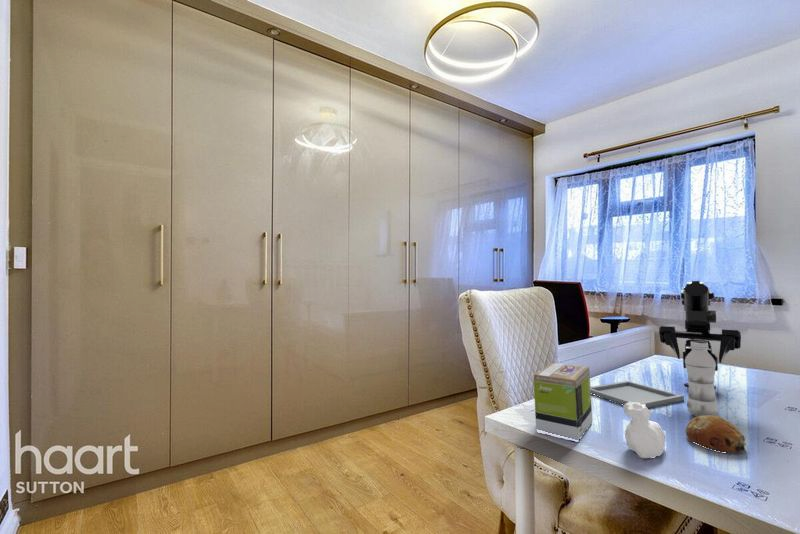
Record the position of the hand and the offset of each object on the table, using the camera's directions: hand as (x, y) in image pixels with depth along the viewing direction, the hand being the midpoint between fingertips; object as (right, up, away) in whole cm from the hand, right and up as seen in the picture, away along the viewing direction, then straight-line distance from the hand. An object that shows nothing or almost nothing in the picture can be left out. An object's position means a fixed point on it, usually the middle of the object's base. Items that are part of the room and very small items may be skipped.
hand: (698, 360), depth 104 cm
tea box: (-44, -14, -13) cm, 48 cm away
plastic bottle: (-5, -14, -7) cm, 16 cm away
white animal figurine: (-33, -14, -25) cm, 44 cm away
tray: (-12, -14, +10) cm, 22 cm away
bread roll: (-15, -14, -23) cm, 30 cm away
